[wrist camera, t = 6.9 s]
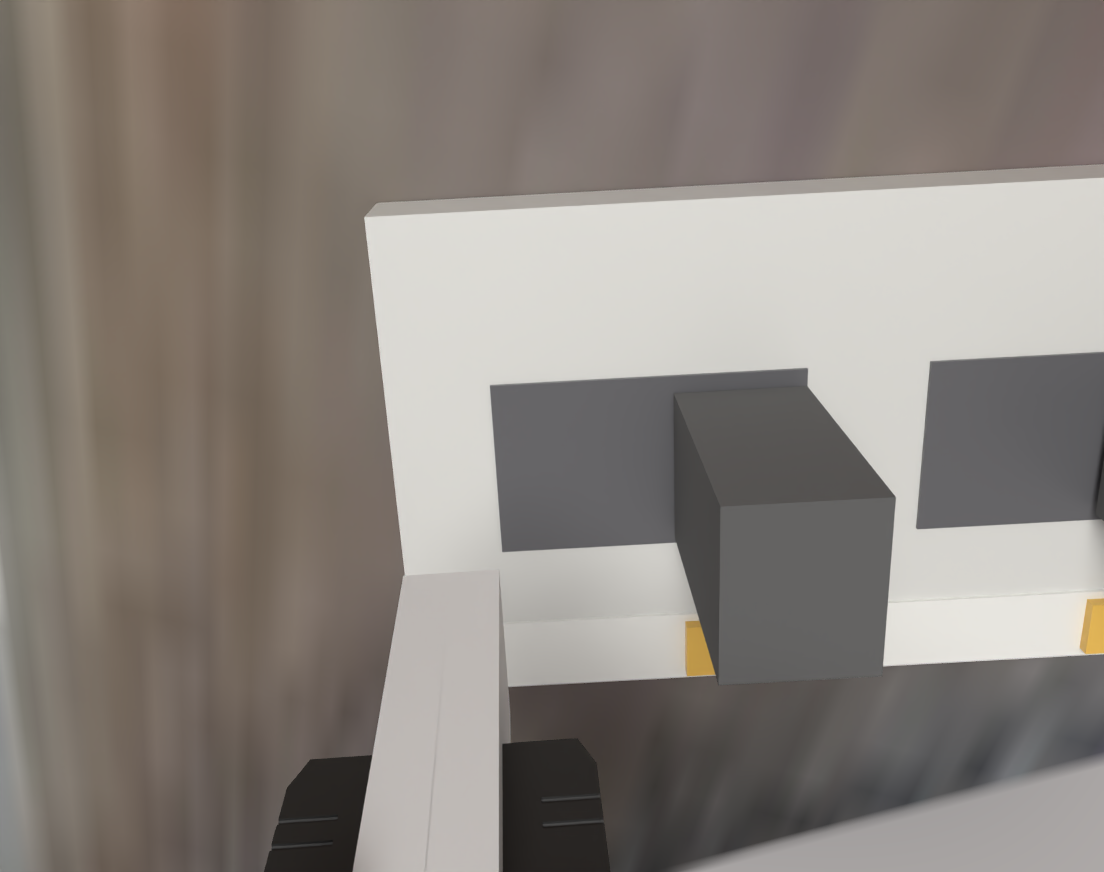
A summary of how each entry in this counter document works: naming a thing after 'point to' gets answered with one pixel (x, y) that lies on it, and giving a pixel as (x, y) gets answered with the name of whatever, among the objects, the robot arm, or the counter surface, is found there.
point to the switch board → (751, 363)
